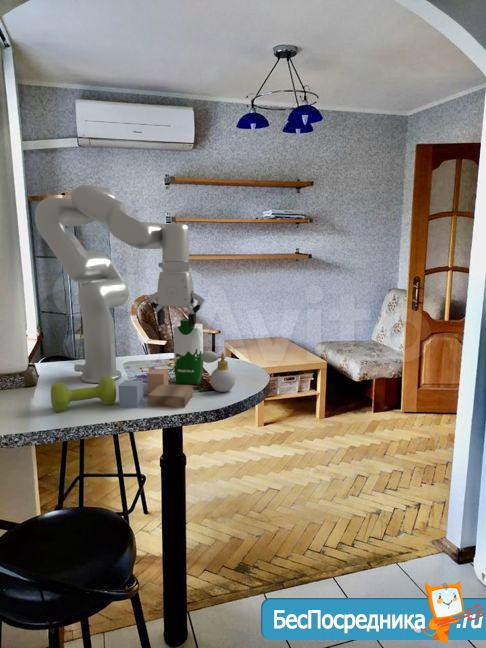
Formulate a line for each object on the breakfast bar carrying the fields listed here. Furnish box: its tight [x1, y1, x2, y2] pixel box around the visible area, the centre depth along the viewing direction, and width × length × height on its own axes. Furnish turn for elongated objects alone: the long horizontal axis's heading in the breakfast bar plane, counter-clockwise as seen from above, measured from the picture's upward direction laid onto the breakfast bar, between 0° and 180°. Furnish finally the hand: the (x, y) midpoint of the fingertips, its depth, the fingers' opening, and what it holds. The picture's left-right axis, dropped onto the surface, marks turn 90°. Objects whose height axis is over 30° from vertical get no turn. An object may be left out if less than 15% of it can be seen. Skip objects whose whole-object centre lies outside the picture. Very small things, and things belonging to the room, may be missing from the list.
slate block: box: [118, 379, 144, 409], centre depth 129 cm, size 5×5×6 cm
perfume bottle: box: [201, 350, 236, 393], centre depth 140 cm, size 8×10×12 cm
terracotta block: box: [146, 368, 170, 394], centre depth 140 cm, size 5×5×6 cm
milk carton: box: [173, 318, 204, 385], centre depth 149 cm, size 9×9×20 cm
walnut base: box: [147, 384, 193, 408], centre depth 132 cm, size 10×10×3 cm
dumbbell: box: [50, 377, 117, 413], centre depth 127 cm, size 16×8×7 cm, turn 116°
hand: (176, 325), depth 139 cm, fingers open, 9 cm apart
